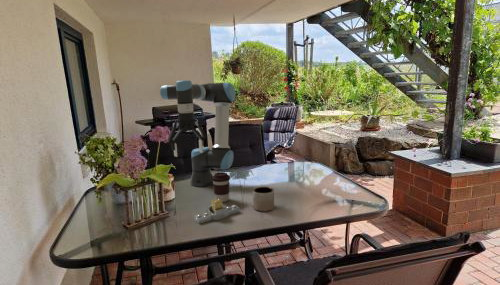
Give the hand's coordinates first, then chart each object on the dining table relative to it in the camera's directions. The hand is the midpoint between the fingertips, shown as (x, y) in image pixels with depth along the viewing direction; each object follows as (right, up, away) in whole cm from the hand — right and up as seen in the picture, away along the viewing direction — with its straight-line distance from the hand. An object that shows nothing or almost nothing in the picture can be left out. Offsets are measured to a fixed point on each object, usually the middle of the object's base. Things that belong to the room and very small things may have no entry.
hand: (188, 154), depth 160 cm
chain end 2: (+20, -29, -3) cm, 35 cm away
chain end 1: (+10, -30, -9) cm, 33 cm away
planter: (+38, -28, +3) cm, 47 cm away
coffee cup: (+15, -26, +16) cm, 34 cm away
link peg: (+15, -30, -6) cm, 34 cm away
